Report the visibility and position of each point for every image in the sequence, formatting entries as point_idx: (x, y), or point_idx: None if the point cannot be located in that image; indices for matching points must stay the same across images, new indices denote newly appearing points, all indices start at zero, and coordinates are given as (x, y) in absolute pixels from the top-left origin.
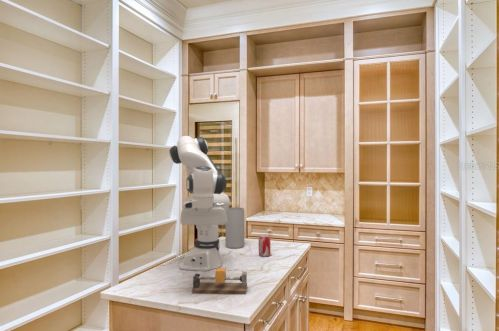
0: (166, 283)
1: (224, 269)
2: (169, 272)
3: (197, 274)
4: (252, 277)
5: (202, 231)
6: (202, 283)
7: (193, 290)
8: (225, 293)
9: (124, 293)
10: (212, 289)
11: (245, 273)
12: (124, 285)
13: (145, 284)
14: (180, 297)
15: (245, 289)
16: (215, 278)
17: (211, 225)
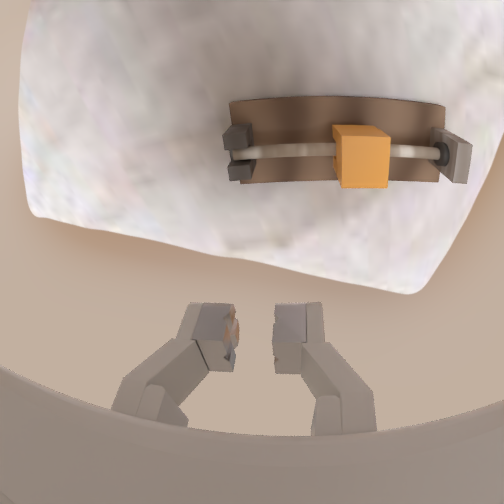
0: (111, 111)
1: (386, 161)
2: (74, 16)
3: (237, 146)
4: (447, 15)
5: (228, 344)
6: (260, 114)
7: (246, 183)
8: None
9: (62, 210)
10: (321, 173)
11: (466, 169)
12: (29, 164)
13: (62, 140)
14: (216, 213)
15: (438, 171)
16: (336, 173)
17: (372, 412)
